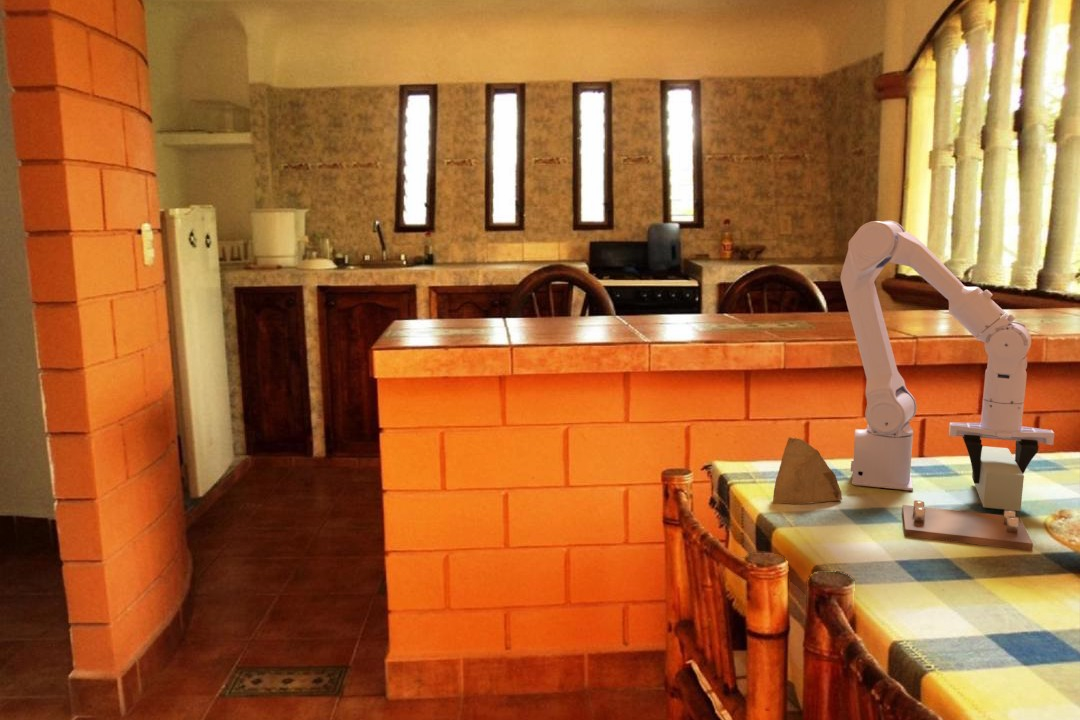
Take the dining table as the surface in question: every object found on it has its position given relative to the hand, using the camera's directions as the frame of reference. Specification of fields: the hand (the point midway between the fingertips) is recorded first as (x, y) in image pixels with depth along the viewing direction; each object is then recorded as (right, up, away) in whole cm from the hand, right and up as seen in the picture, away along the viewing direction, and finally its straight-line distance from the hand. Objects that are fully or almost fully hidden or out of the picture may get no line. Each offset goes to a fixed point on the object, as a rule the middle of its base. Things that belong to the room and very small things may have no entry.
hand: (995, 483), depth 138 cm
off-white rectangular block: (0, -2, 0) cm, 2 cm away
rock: (-30, -3, +1) cm, 30 cm away
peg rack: (-11, -5, -12) cm, 17 cm away
